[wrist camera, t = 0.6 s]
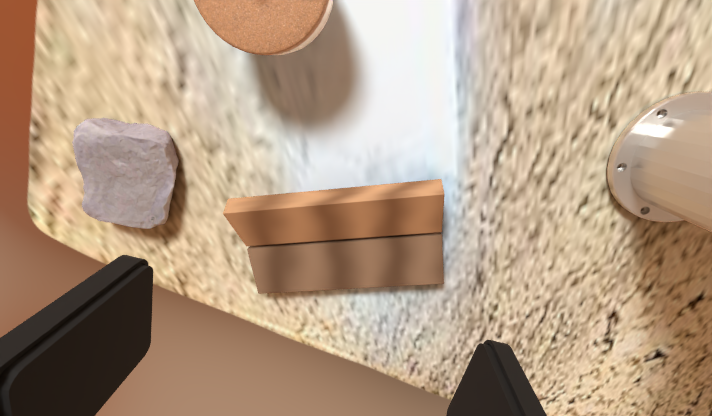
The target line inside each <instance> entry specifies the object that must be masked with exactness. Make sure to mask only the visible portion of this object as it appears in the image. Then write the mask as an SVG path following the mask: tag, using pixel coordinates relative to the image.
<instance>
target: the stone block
mask: <svg viewBox="0 0 712 416" xmlns="http://www.w3.org/2000/svg"><path fill="white" fill-rule="evenodd" d="M73 147H74V153H75V159H76V162H77V166H78V168H79V170H80V172H81V174H82V177H83V181H84V192H85V194H84V198H83V202H82V207H83V210H84V211H85V213H86V214H88V215H89V216H90V217H93V218H95V219H97V220H99V221H104V222H111V223H115V224H120V225H124V226H128V227H136V228H143V229H150V228H154V227H156V226H157V225H161V224H165V222H166V220H167V219H168V213H169V206H170V201H171V199H172V195H173V194H172V191H173V188H174V184H175V179H176V170H177V166H178V162H179V160H178V157H177V155H176V151H175V147H174V145H173V141H172V139H171V137H170V135H169V133H168V132H167V131H165V130H162V129H159V128H157V127H154V126H153V125H149V124H137V123H133V124H129V123H124V122H121V121H117V120H112V119H106V118H102V119H86V120H84V121H83V122H82V123H80V124H79V125H78V126H77V127H76V129H75V130H74V140H73Z"/></svg>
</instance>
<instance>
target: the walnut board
mask: <svg viewBox="0 0 712 416" xmlns="http://www.w3.org/2000/svg"><path fill="white" fill-rule="evenodd" d="M247 250H248V254H249V258H250V262H251V266H252V270H253V274H254V278H255V282H256V285H257V289H258V293H259V294H260V293H278V292H297V291H315V290H334V289H352V288H371V287H389V286H408V285H426V284H444V276H443V251H442V234H441V232H434V233H420V234H407V235H393V236H379V237H366V238H352V239H338V240H325V241H311V242H297V243H284V244H270V245H256V246H250V247H249V248H248V249H247Z"/></svg>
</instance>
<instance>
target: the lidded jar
mask: <svg viewBox="0 0 712 416" xmlns="http://www.w3.org/2000/svg"><path fill="white" fill-rule="evenodd" d="M194 2H195V4H196V6H197V8H198V10H199V12H200V14H201V15H202V17H203V18H204V20H205V21H206V23H207V24H208V25H209V26H210V28H211V29H212V30H213V31H214V32H215V33H216V34H217V35H218V36H219V37H220V38H222V39H223V40H224V41H225V42H227V43H229V44H230V45H232V46H233V47H235V48H238V49H240V50H242V51H245V52H249V53H253V54H257V55H283V54H288V53H292V52H295V51H298V50H300V49H302V48H304V47H305V46H307V45H308V44H310V43H311V42H312V41H313V40H314V39H315V38H316V37H317V36H318V35H319V34H320V32H321V31H322V29H323V28H324V26H325V24H326V22H327V20H328V18H329V16H330V12H331V9H332V5H333V0H194Z"/></svg>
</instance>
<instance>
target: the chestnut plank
mask: <svg viewBox="0 0 712 416" xmlns="http://www.w3.org/2000/svg"><path fill="white" fill-rule="evenodd" d="M443 206H444V190H443V185H442V181H441V179H437V180H426V181H416V182H405V183H394V184H383V185H372V186H362V187H351V188H340V189H329V190H319V191H308V192H297V193H286V194H275V195H265V196H254V197H243V198H232V199H228V201H227V204H226V207H225V209H224V212H223V214H224V216H225V217H226V218H227V220H228V221H229V223H230V224H231V225H232V227H233V228H234V230H235V231H236V232H237V234H238V235H239V237H240V238H241V239H242V241H243V242H244V244H245V245H246V246H256V245H270V244H284V243H297V242H311V241H325V240H338V239H352V238H366V237H379V236H393V235H407V234H420V233H434V232H442V220H443Z"/></svg>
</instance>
